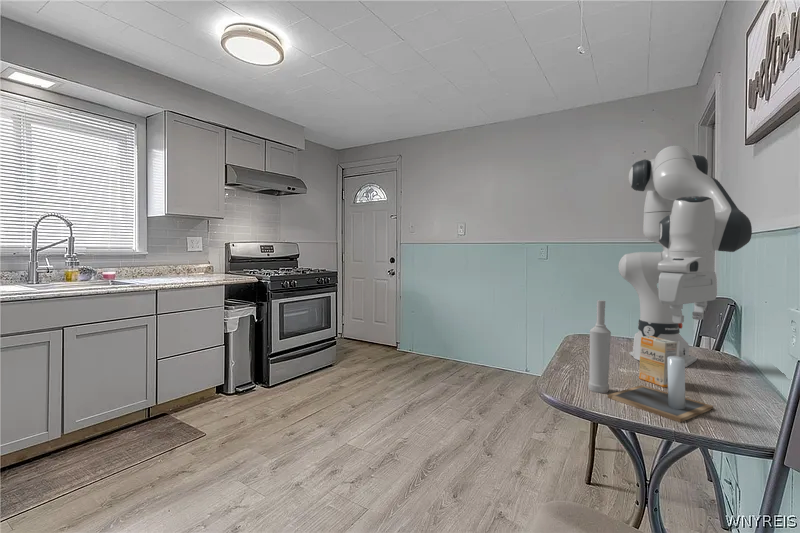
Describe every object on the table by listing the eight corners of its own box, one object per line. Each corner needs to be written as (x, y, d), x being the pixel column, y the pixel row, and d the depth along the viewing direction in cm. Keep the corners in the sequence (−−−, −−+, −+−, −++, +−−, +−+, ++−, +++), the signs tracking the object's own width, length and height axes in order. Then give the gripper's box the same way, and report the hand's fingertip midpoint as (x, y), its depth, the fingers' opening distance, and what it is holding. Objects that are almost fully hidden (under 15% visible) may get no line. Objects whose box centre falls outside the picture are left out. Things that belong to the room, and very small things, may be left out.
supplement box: (637, 378, 118) (639, 336, 118) (649, 377, 120) (651, 335, 119) (663, 387, 110) (665, 342, 110) (676, 386, 112) (677, 341, 111)
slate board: (641, 387, 110) (641, 385, 110) (713, 409, 95) (713, 405, 95) (607, 397, 102) (607, 394, 102) (680, 422, 87) (680, 418, 87)
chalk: (671, 401, 97) (671, 355, 95) (687, 406, 94) (687, 358, 92) (665, 406, 95) (664, 358, 93) (681, 410, 92) (681, 362, 91)
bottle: (592, 385, 112) (594, 299, 111) (611, 390, 108) (614, 300, 107) (585, 389, 108) (587, 300, 107) (605, 394, 104) (608, 302, 103)
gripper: (696, 262, 101) (694, 315, 101) (653, 264, 91) (651, 322, 91) (726, 263, 95) (723, 319, 96) (684, 265, 85) (681, 327, 86)
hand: (688, 321), depth 94 cm, fingers open, 8 cm apart
